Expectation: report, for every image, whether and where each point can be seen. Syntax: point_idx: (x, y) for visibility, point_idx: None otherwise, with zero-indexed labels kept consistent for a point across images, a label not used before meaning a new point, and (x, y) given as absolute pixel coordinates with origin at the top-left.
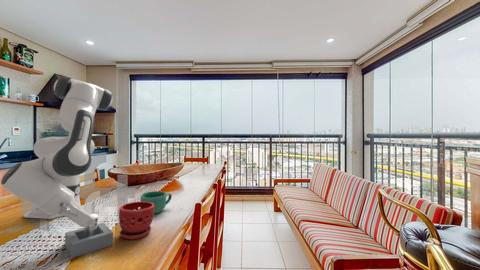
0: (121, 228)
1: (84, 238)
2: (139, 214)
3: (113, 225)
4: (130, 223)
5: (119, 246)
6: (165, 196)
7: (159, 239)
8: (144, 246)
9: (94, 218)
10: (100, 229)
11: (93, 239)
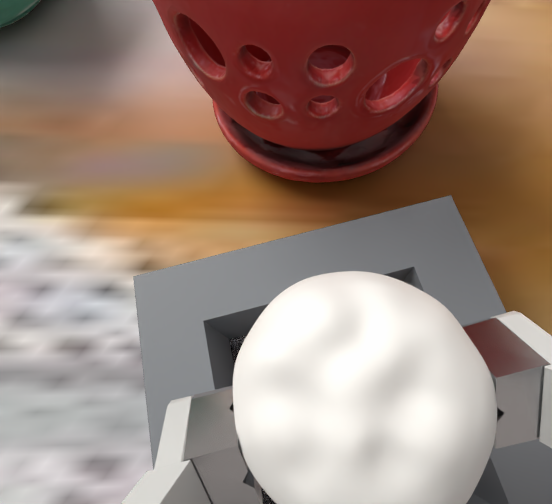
0: (347, 141)
1: (500, 457)
2: None
3: (57, 228)
4: (478, 21)
5: (469, 203)
6: None
7: None
8: (534, 77)
9: (463, 335)
10: None
11: None
